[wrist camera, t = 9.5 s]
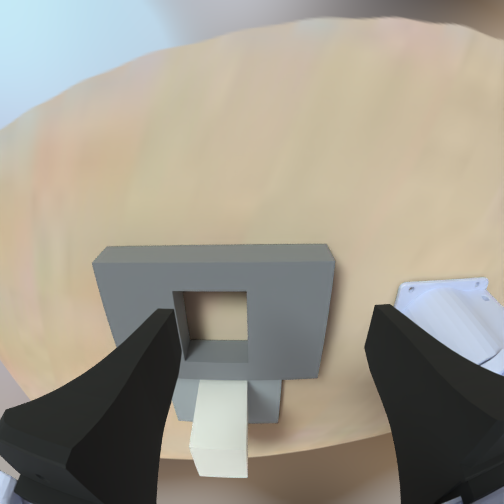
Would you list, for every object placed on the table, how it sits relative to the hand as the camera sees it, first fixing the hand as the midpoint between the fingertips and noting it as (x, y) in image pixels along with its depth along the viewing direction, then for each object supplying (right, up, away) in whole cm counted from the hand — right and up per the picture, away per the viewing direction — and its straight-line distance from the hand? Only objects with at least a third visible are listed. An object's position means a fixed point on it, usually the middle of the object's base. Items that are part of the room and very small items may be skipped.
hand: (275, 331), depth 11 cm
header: (-3, -1, +12) cm, 12 cm away
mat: (-3, -10, +16) cm, 19 cm away
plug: (-3, -10, +15) cm, 19 cm away
